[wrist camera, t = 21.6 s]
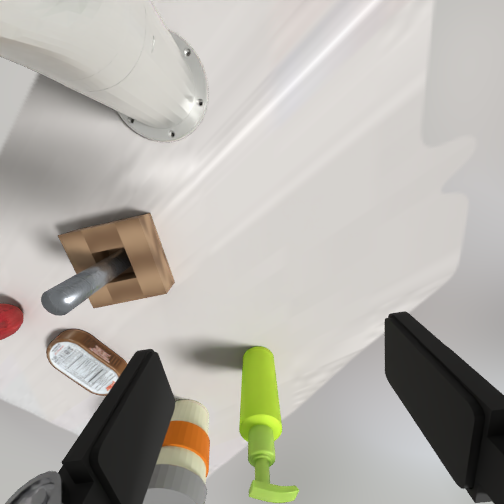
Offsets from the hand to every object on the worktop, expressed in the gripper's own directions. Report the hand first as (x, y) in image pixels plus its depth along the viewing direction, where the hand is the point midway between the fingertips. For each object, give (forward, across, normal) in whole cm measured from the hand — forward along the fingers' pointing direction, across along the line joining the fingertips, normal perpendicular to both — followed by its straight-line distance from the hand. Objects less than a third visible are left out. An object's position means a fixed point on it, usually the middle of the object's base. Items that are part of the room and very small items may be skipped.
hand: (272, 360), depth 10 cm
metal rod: (+28, +22, +1) cm, 35 cm away
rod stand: (+28, +22, +1) cm, 36 cm away
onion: (+28, +44, +7) cm, 53 cm away
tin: (+27, +32, +18) cm, 45 cm away
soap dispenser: (+29, +4, +26) cm, 39 cm away
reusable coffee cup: (+29, +21, +37) cm, 52 cm away
